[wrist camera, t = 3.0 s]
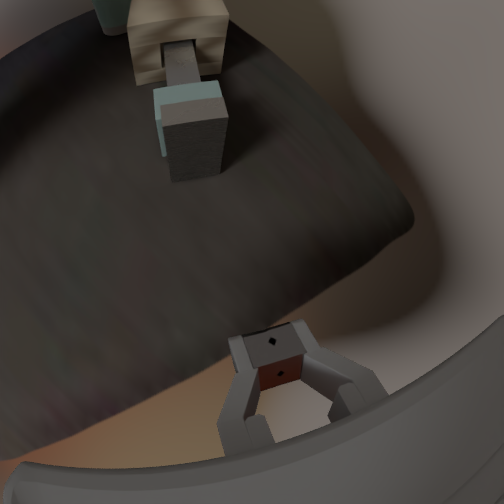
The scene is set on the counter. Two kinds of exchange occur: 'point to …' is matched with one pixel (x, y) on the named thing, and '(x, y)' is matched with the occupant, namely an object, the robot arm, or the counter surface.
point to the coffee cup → (112, 15)
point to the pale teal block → (181, 99)
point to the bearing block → (175, 34)
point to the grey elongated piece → (191, 119)
